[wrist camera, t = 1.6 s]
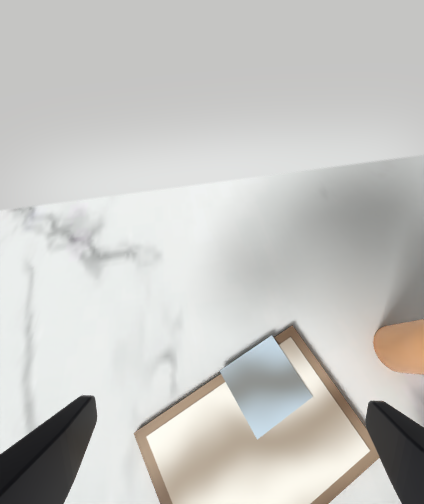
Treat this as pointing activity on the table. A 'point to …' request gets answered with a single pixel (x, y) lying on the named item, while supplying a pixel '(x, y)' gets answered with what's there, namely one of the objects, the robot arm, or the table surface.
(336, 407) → the board
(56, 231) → the table surface
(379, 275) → the table surface
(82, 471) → the table surface
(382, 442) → the robot arm
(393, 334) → the marker
